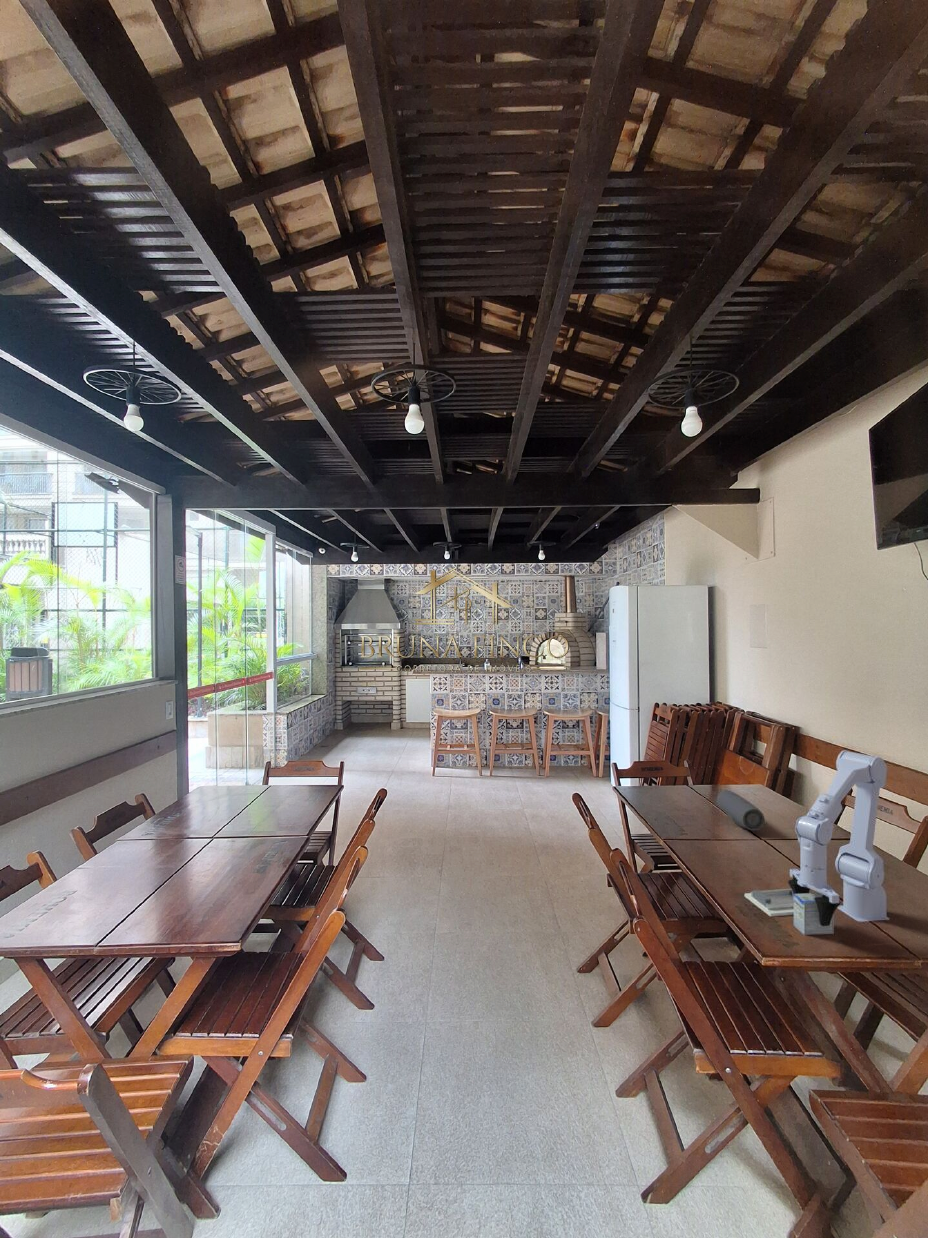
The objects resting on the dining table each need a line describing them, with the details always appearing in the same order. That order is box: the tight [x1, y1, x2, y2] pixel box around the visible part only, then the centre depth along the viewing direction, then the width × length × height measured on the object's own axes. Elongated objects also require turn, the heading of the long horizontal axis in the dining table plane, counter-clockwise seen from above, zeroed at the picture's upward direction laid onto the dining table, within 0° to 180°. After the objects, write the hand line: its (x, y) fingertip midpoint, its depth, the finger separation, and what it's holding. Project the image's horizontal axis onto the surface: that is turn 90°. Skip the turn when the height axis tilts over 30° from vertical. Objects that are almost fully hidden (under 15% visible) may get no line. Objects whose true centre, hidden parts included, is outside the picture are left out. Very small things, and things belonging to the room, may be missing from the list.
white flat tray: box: [744, 888, 794, 917], centre depth 156 cm, size 15×11×3 cm
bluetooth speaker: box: [715, 789, 766, 831], centre depth 218 cm, size 23×9×10 cm, turn 179°
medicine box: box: [793, 892, 835, 936], centre depth 143 cm, size 8×4×9 cm, turn 92°
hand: (813, 917), depth 143 cm, fingers open, 7 cm apart
